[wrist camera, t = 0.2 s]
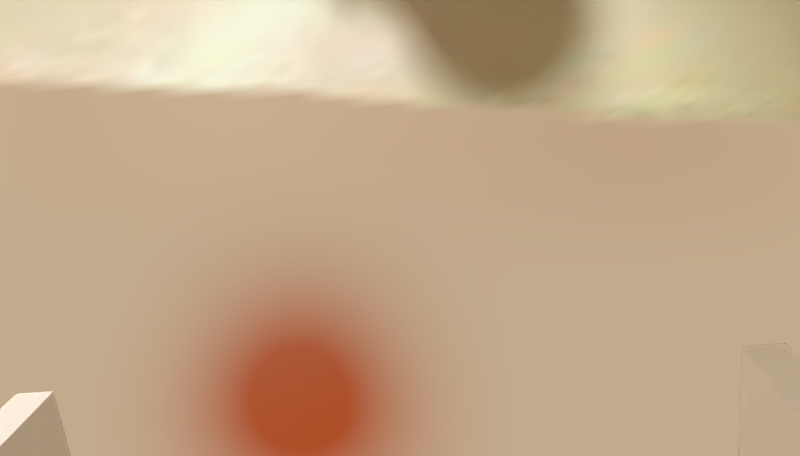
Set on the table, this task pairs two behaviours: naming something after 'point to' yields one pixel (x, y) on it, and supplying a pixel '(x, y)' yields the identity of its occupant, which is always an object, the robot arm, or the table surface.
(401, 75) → the table surface
